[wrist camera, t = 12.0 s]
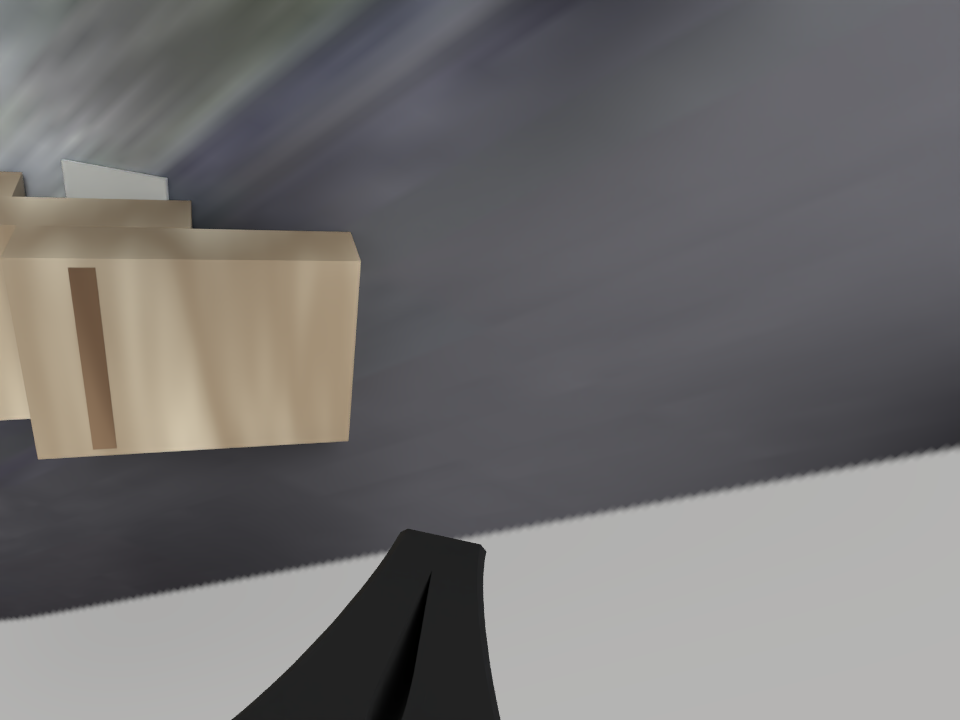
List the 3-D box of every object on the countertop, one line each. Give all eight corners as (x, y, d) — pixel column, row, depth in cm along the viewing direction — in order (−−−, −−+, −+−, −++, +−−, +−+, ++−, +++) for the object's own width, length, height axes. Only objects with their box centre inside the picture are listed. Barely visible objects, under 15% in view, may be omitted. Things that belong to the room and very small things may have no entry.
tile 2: (191, 227, 18) (-190, 222, 16) (200, 409, 20) (-125, 428, 18) (191, 200, 19) (-161, 192, 17) (199, 374, 22) (-104, 387, 19)
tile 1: (360, 261, 18) (0, 258, 15) (348, 441, 20) (38, 459, 18) (350, 231, 19) (17, 224, 17) (339, 404, 21) (49, 416, 19)
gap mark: (167, 178, 19) (165, 179, 19) (183, 388, 22) (181, 390, 22) (63, 159, 19) (60, 160, 19) (93, 370, 22) (91, 372, 22)
